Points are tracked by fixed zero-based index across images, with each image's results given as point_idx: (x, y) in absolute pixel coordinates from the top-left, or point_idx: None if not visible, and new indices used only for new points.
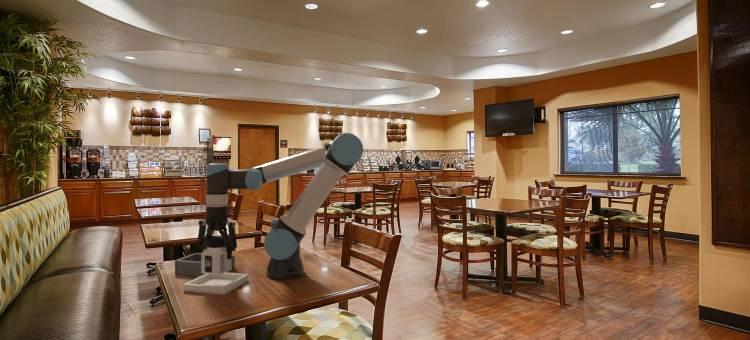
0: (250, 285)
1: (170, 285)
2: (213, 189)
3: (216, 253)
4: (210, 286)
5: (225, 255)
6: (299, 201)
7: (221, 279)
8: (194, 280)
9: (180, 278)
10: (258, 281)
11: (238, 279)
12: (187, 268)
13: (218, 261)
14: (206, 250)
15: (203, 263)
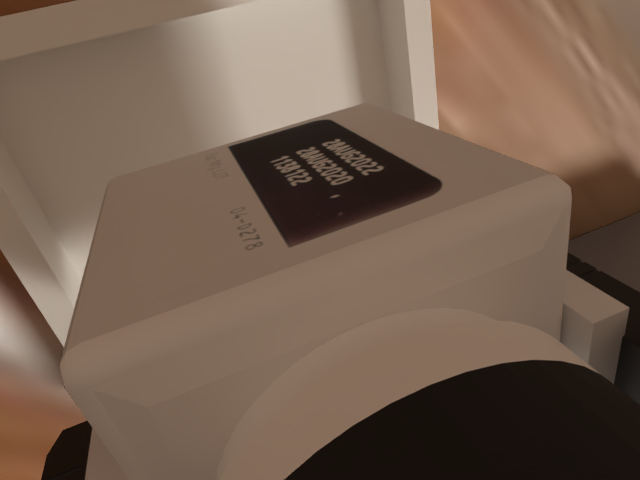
0: (4, 361)
1: (575, 17)
2: None
3: (188, 338)
4: (92, 3)
5: (98, 448)
6: None
7: None
8: (412, 79)
9: (593, 167)
10: (48, 442)
11: (59, 326)
12: (629, 252)
13: (117, 251)
14: (568, 336)
15: (398, 136)
